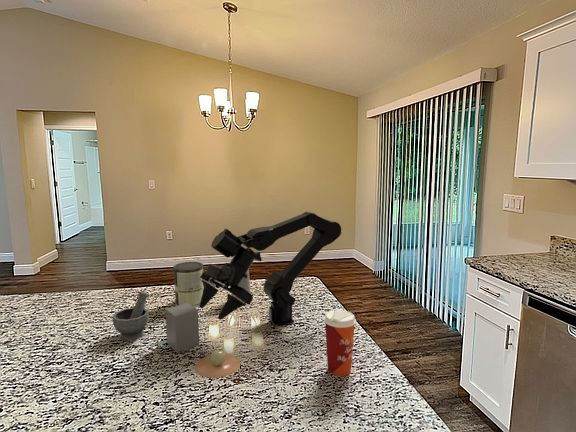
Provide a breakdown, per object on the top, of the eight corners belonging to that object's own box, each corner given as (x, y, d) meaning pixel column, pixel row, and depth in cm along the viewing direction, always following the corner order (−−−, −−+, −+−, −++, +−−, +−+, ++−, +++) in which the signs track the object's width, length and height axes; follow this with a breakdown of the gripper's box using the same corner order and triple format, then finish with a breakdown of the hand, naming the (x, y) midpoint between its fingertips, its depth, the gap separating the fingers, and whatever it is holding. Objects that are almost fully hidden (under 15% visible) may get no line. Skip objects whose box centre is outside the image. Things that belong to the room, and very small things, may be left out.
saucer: (235, 355, 100) (234, 337, 99) (245, 378, 89) (244, 357, 89) (192, 363, 96) (191, 344, 95) (197, 387, 86) (196, 366, 85)
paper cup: (347, 382, 87) (348, 324, 85) (318, 372, 91) (318, 317, 89) (360, 366, 94) (361, 313, 92) (332, 358, 98) (332, 306, 96)
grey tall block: (189, 340, 108) (187, 303, 106) (199, 348, 103) (197, 309, 101) (167, 347, 104) (165, 308, 102) (177, 356, 99) (175, 316, 97)
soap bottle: (234, 296, 143) (233, 250, 140) (252, 297, 142) (251, 250, 139) (229, 303, 136) (228, 255, 133) (248, 304, 135) (247, 255, 132)
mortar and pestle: (130, 346, 105) (127, 305, 103) (107, 339, 109) (103, 299, 107) (160, 330, 115) (158, 292, 113) (138, 324, 119) (135, 287, 117)
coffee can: (169, 304, 135) (167, 266, 133) (191, 296, 144) (190, 260, 142) (188, 311, 129) (186, 271, 127) (210, 301, 138) (209, 264, 136)
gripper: (203, 245, 113) (172, 291, 108) (243, 261, 100) (210, 314, 95) (226, 262, 120) (198, 306, 115) (265, 280, 108) (236, 329, 103)
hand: (209, 313), depth 107 cm, fingers open, 9 cm apart
